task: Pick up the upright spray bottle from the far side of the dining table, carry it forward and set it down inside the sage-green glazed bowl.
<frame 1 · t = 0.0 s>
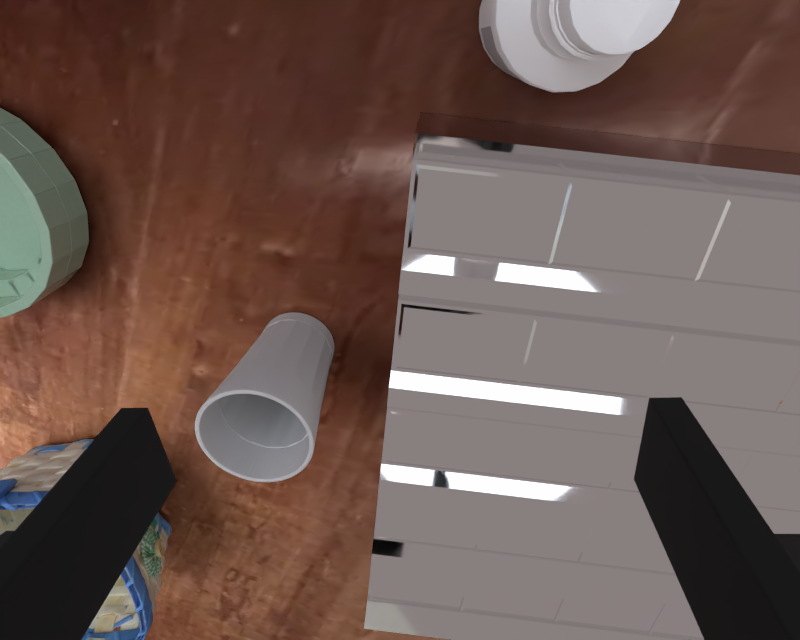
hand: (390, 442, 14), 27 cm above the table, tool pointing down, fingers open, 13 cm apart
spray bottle: (533, 17, 32), on the table
cup: (299, 343, 44), on the table
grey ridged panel: (643, 409, 45), on the table
basket: (114, 478, 54), on the table
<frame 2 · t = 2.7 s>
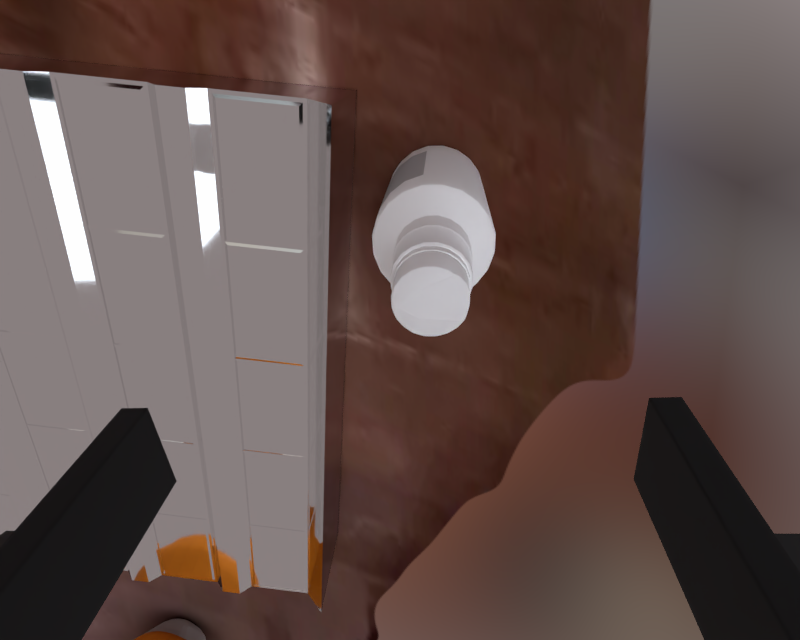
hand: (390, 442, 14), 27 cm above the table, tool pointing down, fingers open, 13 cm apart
vase: (185, 621, 68), on the table
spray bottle: (435, 191, 38), on the table
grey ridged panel: (99, 335, 46), on the table
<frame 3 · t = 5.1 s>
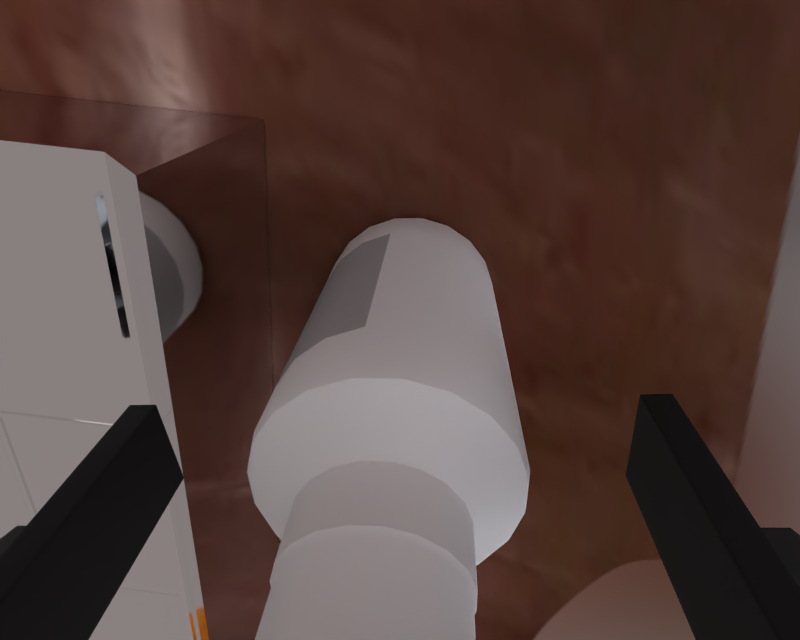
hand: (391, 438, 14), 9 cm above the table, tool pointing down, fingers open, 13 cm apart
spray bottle: (411, 290, 22), on the table
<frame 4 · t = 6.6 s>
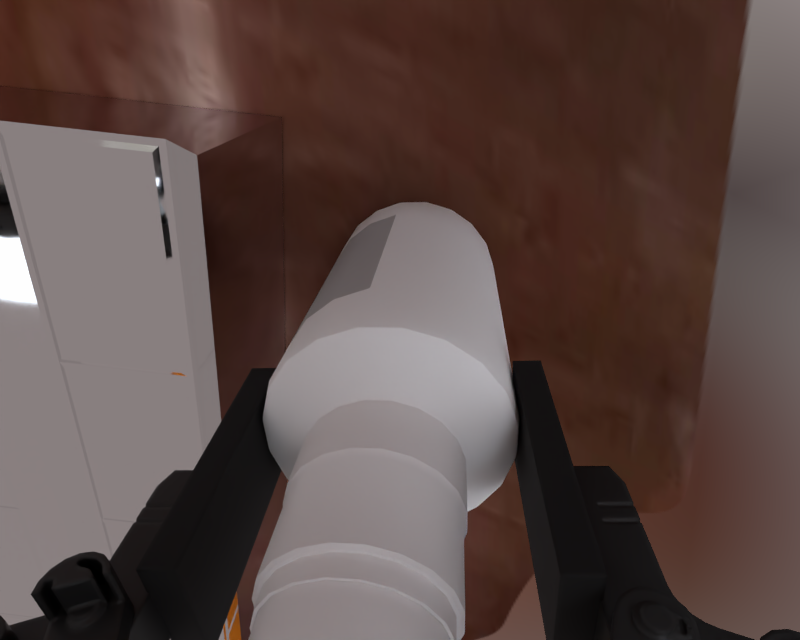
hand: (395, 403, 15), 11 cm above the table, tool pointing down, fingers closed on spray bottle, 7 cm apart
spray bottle: (416, 272, 23), point 2 cm above the table, touching gripper
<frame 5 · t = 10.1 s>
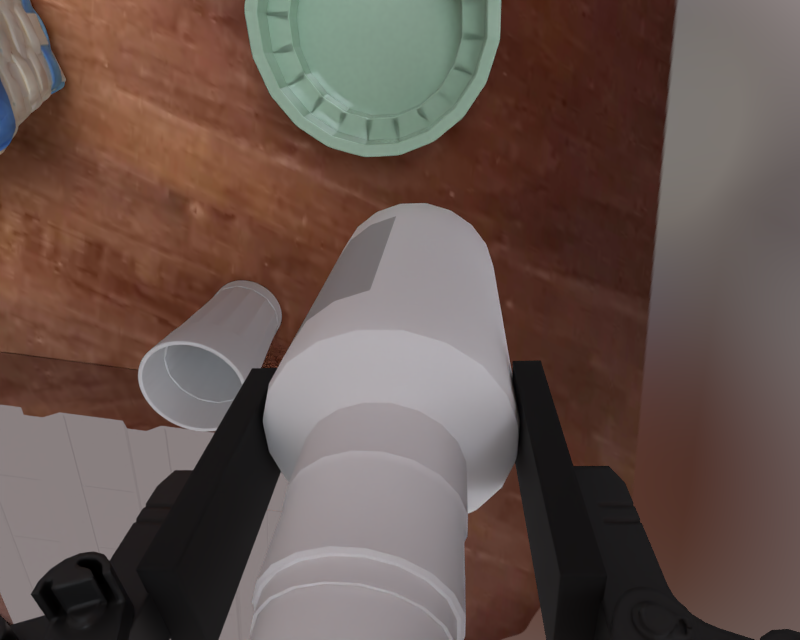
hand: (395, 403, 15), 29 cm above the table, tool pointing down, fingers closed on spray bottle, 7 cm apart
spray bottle: (416, 273, 23), point 19 cm above the table, touching gripper
cup: (248, 310, 47), on the table
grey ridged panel: (233, 530, 62), on the table
bowl: (379, 27, 35), on the table
when the fingers open (10 cm above the table, at t = 13.9 s): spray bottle stays where it is, resting on bowl.
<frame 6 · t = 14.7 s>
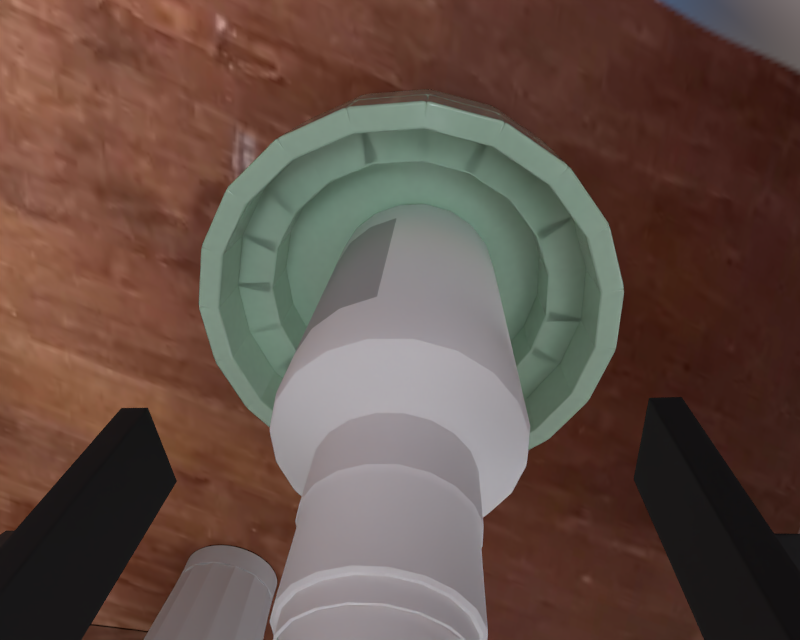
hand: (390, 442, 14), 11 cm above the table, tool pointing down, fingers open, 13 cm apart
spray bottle: (416, 274, 23), resting on bowl
cup: (232, 573, 35), on the table
bowl: (411, 274, 23), on the table
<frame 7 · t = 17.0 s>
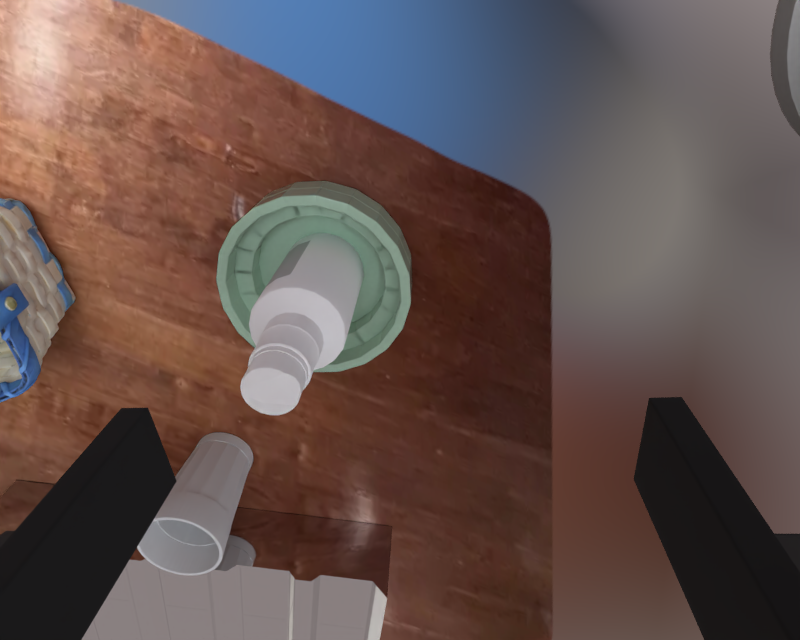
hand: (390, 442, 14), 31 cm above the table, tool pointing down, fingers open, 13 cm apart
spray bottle: (326, 267, 45), resting on bowl
cup: (225, 452, 57), on the table
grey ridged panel: (216, 612, 72), on the table
bowl: (324, 267, 45), on the table
basket: (3, 266, 47), on the table
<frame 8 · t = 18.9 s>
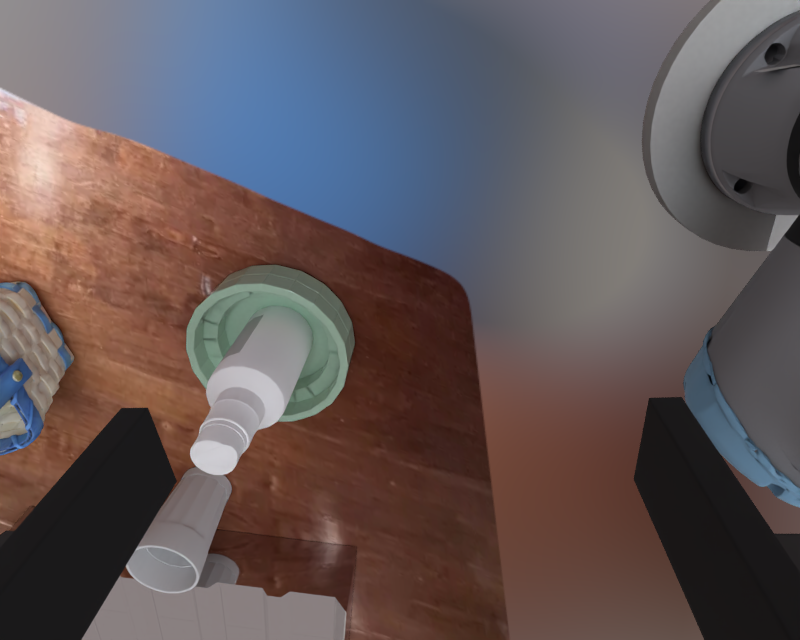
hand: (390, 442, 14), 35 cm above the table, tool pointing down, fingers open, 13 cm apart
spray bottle: (281, 332, 53), resting on bowl
cup: (207, 483, 65), on the table
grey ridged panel: (207, 621, 80), on the table
bowl: (280, 332, 53), on the table
basket: (14, 332, 56), on the table
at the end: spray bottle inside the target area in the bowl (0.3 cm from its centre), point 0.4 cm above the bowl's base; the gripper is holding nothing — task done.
